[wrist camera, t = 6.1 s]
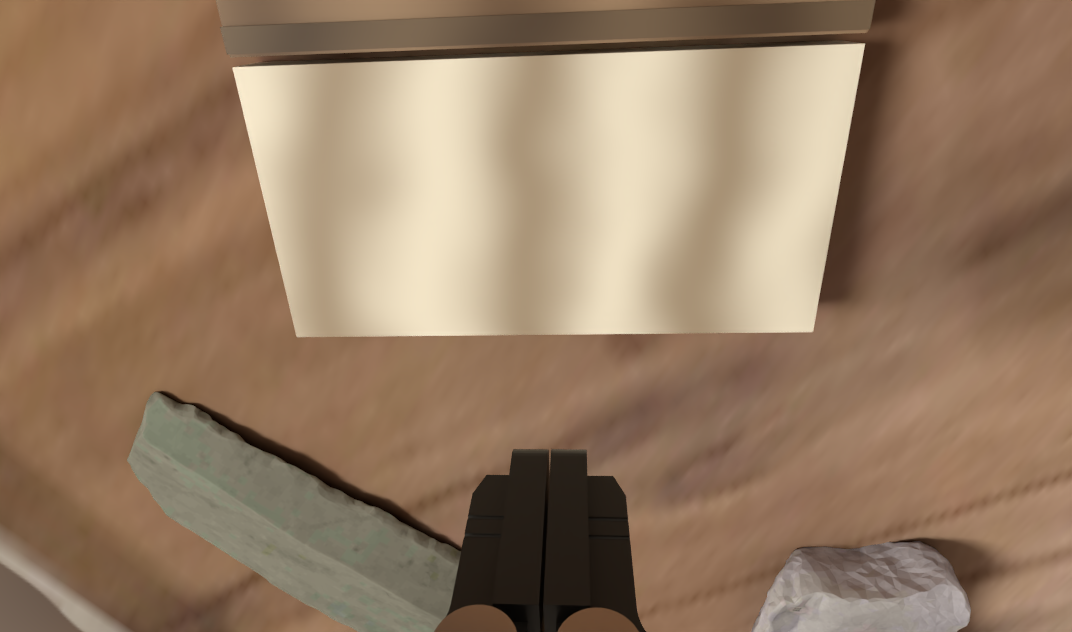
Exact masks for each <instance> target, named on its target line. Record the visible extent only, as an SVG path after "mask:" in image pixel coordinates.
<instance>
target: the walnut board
mask: <svg viewBox="0 0 1072 632" xmlns="http://www.w3.org/2000/svg"><path fill="white" fill-rule="evenodd" d="M875 1H876V0H216V3H217V7H218V11H219V15H220V19H221V23H222V27H220V29H221V33H222V36H223V40H224V44H225V48H226V52H227V54H229V55H230V57H252V56H278V55H304V54H330V53H356V52H382V51H408V50H434V49H459V48H485V47H511V46H537V45H563V44H589V43H615V42H641V41H667V40H692V39H718V38H744V37H770V36H796V35H822V34H848V33H867V31H868V30H870V26H871V21H872V16H873V11H874V6H875Z"/></svg>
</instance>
